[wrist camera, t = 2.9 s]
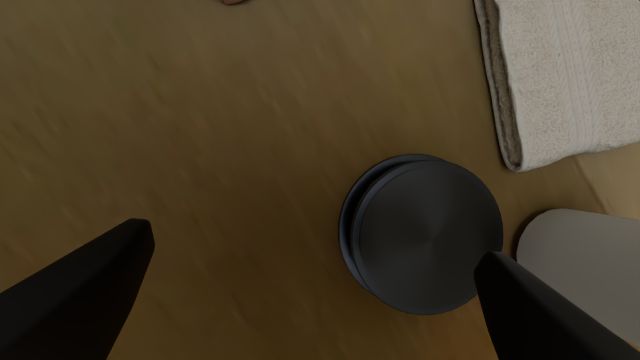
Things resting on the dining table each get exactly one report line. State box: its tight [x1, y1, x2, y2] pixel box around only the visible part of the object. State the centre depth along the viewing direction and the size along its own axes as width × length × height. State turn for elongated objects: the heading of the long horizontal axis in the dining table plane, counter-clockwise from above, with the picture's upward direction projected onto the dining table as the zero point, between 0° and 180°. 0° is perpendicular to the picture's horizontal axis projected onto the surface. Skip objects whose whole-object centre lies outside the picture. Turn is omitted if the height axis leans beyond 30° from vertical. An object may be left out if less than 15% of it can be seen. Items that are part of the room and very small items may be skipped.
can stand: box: [338, 154, 503, 315], centre depth 22 cm, size 12×12×3 cm
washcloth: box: [474, 0, 640, 173], centre depth 23 cm, size 12×18×3 cm, turn 12°
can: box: [517, 208, 640, 347], centre depth 19 cm, size 8×8×12 cm
